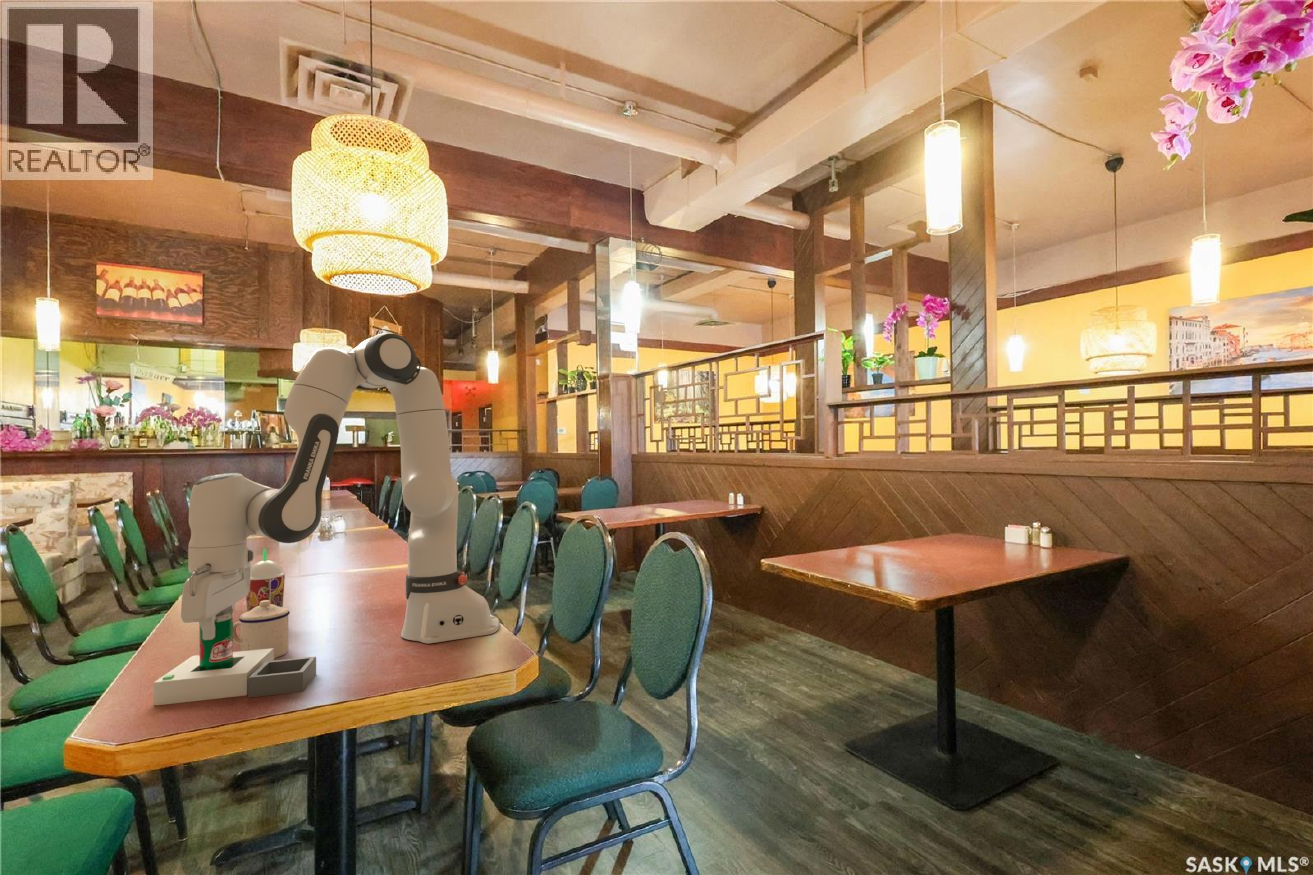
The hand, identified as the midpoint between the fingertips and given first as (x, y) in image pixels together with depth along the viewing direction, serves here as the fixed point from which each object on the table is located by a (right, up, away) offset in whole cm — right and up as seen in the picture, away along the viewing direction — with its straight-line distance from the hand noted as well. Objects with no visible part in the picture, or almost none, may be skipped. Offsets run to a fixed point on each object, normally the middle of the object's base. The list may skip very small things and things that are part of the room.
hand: (217, 633), depth 111 cm
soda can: (0, -9, 0) cm, 9 cm away
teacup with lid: (-3, -10, +16) cm, 20 cm away
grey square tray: (+13, -9, -1) cm, 16 cm away
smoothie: (-14, -11, +34) cm, 38 cm away
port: (0, -10, 0) cm, 10 cm away
